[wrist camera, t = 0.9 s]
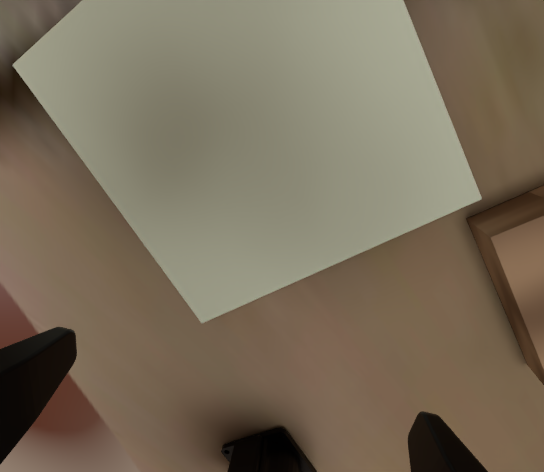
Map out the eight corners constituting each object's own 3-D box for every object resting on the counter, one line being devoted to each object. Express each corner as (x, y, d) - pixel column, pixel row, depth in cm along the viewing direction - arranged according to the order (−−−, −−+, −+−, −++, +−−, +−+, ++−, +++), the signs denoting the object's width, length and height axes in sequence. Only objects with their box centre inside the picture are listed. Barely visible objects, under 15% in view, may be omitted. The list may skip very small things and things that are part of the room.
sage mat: (477, 196, 19) (482, 199, 19) (203, 319, 25) (201, 323, 25) (317, -206, 14) (317, -217, 14) (19, 65, 20) (12, 64, 19)
